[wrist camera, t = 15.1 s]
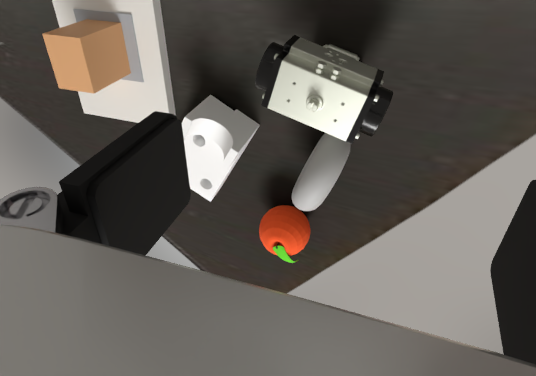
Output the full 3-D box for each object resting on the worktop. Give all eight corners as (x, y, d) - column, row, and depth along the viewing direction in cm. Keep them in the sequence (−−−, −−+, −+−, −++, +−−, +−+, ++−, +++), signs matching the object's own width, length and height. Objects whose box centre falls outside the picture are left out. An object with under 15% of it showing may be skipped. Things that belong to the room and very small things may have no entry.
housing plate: (47, -52, 46) (12, -49, 42) (153, -47, 42) (125, -43, 38) (91, 108, 57) (67, 123, 54) (176, 123, 54) (157, 140, 50)
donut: (323, 184, 52) (304, 233, 44) (299, 171, 52) (276, 218, 44) (362, 124, 45) (348, 169, 37) (336, 109, 45) (316, 151, 38)
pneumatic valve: (379, 103, 43) (365, 157, 34) (281, 63, 44) (242, 104, 35) (403, 56, 40) (395, 101, 30) (297, 13, 41) (257, 44, 32)
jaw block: (86, 19, 47) (42, 33, 42) (121, 22, 46) (79, 38, 41) (98, 68, 51) (59, 88, 45) (130, 73, 50) (94, 93, 44)
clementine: (327, 233, 56) (316, 269, 51) (287, 243, 60) (272, 277, 54) (300, 189, 53) (285, 221, 48) (259, 202, 57) (241, 234, 51)
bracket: (213, 91, 49) (184, 116, 44) (260, 123, 50) (238, 152, 44) (180, 160, 58) (152, 189, 52) (220, 187, 58) (197, 219, 52)
